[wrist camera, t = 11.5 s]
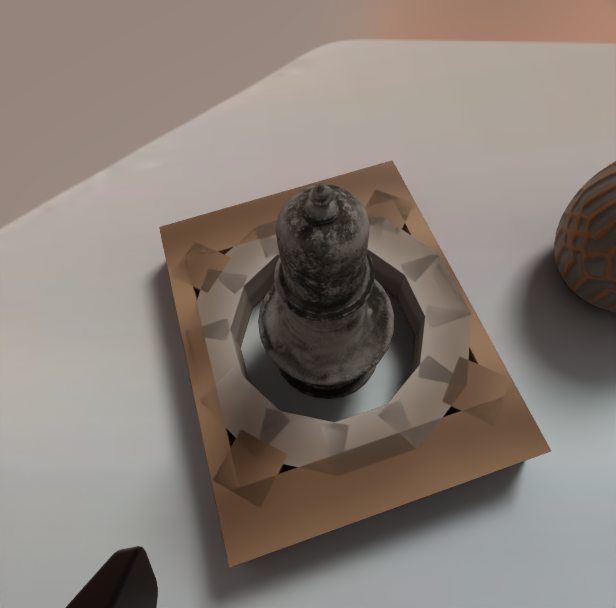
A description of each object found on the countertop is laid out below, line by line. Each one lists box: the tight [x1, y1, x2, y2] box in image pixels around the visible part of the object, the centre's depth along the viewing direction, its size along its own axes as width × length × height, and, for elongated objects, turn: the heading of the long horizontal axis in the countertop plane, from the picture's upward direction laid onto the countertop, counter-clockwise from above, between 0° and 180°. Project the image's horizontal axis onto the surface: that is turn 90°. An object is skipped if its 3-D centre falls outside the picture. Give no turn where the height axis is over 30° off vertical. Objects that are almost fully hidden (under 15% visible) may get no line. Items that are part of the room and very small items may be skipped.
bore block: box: [159, 161, 551, 568], centre depth 21 cm, size 16×13×2 cm
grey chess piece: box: [258, 184, 394, 399], centre depth 17 cm, size 6×6×12 cm
